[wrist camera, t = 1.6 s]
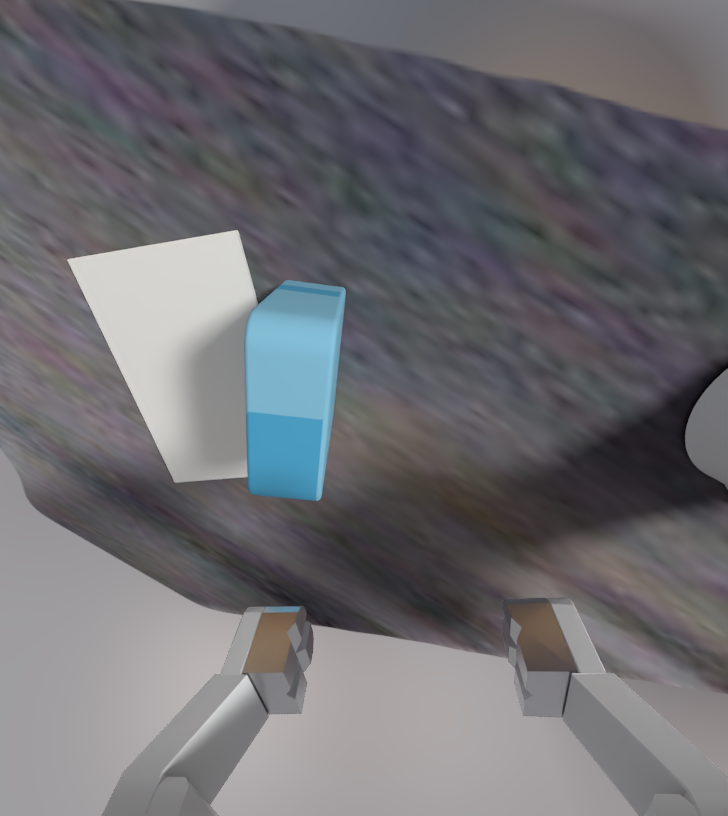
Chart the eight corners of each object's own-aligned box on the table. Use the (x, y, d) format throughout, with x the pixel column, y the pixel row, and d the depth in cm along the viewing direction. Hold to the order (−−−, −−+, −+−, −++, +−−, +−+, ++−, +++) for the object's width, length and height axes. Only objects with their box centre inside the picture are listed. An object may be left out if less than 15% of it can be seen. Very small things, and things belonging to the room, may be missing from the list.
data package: (287, 276, 28) (241, 315, 17) (346, 284, 28) (337, 327, 17) (283, 412, 33) (247, 505, 23) (332, 418, 34) (319, 512, 23)
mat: (238, 230, 27) (236, 230, 27) (304, 470, 37) (303, 472, 36) (69, 258, 29) (66, 259, 28) (176, 480, 39) (174, 482, 38)
